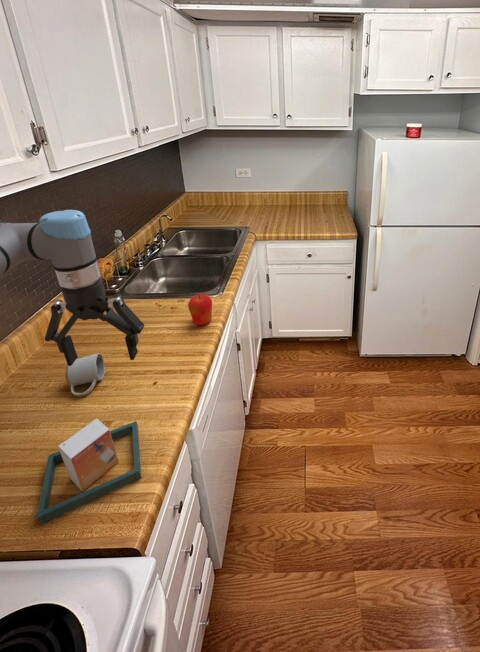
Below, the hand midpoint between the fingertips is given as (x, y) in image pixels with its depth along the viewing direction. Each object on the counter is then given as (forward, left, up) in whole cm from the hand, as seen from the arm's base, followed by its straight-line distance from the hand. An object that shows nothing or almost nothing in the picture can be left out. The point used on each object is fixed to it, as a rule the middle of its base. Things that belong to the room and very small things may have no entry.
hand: (103, 358), depth 79 cm
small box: (-5, -11, -21) cm, 24 cm away
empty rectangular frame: (-5, -11, -20) cm, 24 cm away
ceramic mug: (-8, +19, -21) cm, 29 cm away
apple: (+27, +32, -21) cm, 47 cm away
